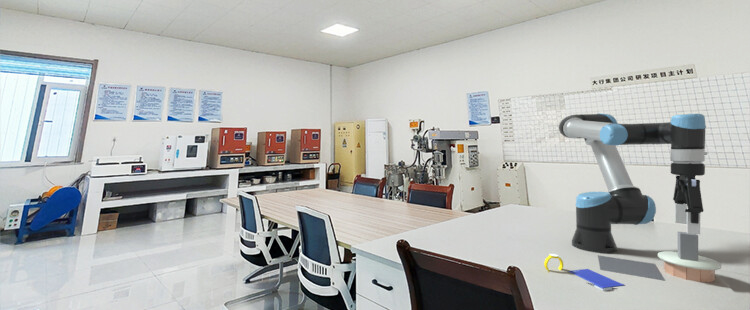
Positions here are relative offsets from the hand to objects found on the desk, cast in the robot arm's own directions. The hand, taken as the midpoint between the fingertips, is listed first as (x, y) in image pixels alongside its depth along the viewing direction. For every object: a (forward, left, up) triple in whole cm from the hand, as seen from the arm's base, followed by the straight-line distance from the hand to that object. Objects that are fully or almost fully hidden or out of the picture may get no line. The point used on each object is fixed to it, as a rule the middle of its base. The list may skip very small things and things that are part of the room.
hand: (686, 228), depth 95 cm
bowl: (0, 0, -16) cm, 16 cm away
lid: (0, 0, -11) cm, 11 cm away
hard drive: (-24, -19, -16) cm, 35 cm away
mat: (-15, -2, -16) cm, 22 cm away
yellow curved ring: (-36, -18, -16) cm, 43 cm away
